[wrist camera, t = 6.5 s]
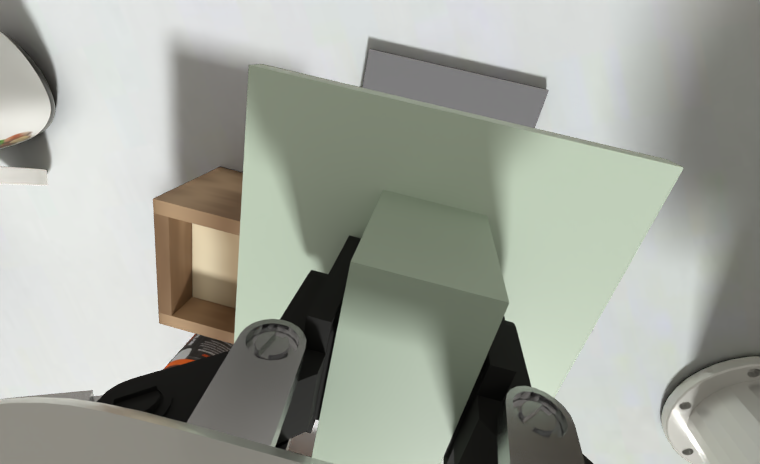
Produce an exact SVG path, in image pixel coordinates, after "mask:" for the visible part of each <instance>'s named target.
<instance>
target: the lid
mask: <svg viewBox="0 0 760 464" xmlns="http://www.w3.org/2000/svg"><path fill="white" fill-rule="evenodd" d="M683 169H684V167H682V166H679V165H677V164H675V163H673V162H671V161H669V160H667V159H663V158H659V157H654V156H650V155H646V154H642V153H637V152H633V151H629V150H625V149H620V148H616V147H612V146H608V145H603V144H599V143H595V142H591V141H586V140H582V139H578V138H574V137H569V136H565V135H561V134H557V133H553V132H548V131H544V130H540V129H536V128H531V127H527V126H523V125H519V124H514V123H510V122H506V121H502V120H497V119H493V118H489V117H485V116H480V115H476V114H472V113H468V112H463V111H459V110H455V109H451V108H446V107H442V106H438V105H434V104H429V103H425V102H421V101H417V100H413V99H408V98H404V97H400V96H396V95H391V94H387V93H383V92H379V91H374V90H370V89H366V88H362V87H357V86H353V85H349V84H345V83H340V82H336V81H332V80H328V79H323V78H319V77H315V76H311V75H306V74H302V73H298V72H294V71H289V70H285V69H281V68H277V67H273V66H268V65H264V64H255V65H249V69H248V88H247V107H246V126H245V144H244V163H243V182H242V201H241V219H240V238H239V257H238V276H237V294H236V313H235V332H234V343H235V341H236V340H237V338H238V336H239V335H240V333H241V332H242V331H243V330H244V329H245V328H246V327H247V326H249V325H250V324H252V323H254V322H257V321H260V320H265V319H280V318H281V317H282V315H283V313H284V312H285V310H286V309H287V307H288V305H289V304H290V302H291V301H292V299H293V297H294V296H295V294H296V293H297V291H298V289H299V288H300V286H301V285H302V283H303V281H304V280H305V278H306V277H307V275H308V273H309V272H310V271H311V270H314V271H318V272H322V273H326V274H329V272H330V270H331V268H332V267H333V265H334V263H335V261H336V259H337V257H338V255H339V253H340V252H341V250H342V248H343V246H344V244H345V242H346V240H347V238H348V237H349V235H350V236H354V237H358V238H361V240H360V242H359V244H358V247H357V249H356V251H355V253H354V255H353V258H352V260H351V262H350V267H349V272H348V277H347V282H346V287H345V293H344V298H343V303H342V308H341V313H340V318H339V323H338V328H337V333H336V338H335V343H334V348H333V353H332V358H331V363H330V368H329V373H328V378H327V383H326V388H325V393H324V398H323V403H322V408H321V413H320V418H319V423H318V428H317V433H316V438H315V443H314V448H313V453H312V458H315V459H319V460H322V461H326V462H329V463H333V464H441V461H442V459H443V457H444V454H445V452H446V450H447V447H448V445H449V443H450V440H451V438H452V436H453V433H454V431H455V429H456V426H457V424H458V422H459V419H460V417H461V415H462V412H463V410H464V408H465V405H466V403H467V401H468V398H469V396H470V394H471V391H472V389H473V387H474V384H475V382H476V380H477V377H478V375H479V373H480V370H481V368H482V366H483V363H484V361H485V359H486V356H487V354H488V352H489V349H490V347H491V345H492V342H493V340H494V338H495V335H496V333H497V331H498V328H499V326H500V324H501V321H502V319H503V317H505V320H506V321H509V322H513V323H514V324H515V326H516V329H517V333H518V337H519V340H520V344H521V348H522V352H523V356H524V360H525V364H526V367H527V371H528V375H529V379H530V383H531V387H534V388H537V389H539V390H541V391H544V392H546V393H547V394H549V395H550V396H552V397H553V398H554V397H555V396H556V394H557V392H558V390H559V388H560V387H561V385H562V383H563V381H564V380H565V378H566V376H567V374H568V373H569V371H570V369H571V367H572V365H573V364H574V362H575V360H576V358H577V357H578V355H579V353H580V351H581V349H582V348H583V346H584V344H585V342H586V341H587V339H588V337H589V335H590V333H591V332H592V330H593V328H594V326H595V325H596V323H597V321H598V319H599V318H600V316H601V314H602V312H603V310H604V309H605V307H606V305H607V303H608V302H609V300H610V298H611V296H612V294H613V293H614V291H615V289H616V287H617V286H618V284H619V282H620V280H621V279H622V277H623V275H624V273H625V271H626V270H627V268H628V266H629V264H630V263H631V261H632V259H633V257H634V255H635V254H636V252H637V250H638V248H639V247H640V245H641V243H642V241H643V240H644V238H645V236H646V234H647V232H648V231H649V229H650V227H651V225H652V224H653V222H654V220H655V218H656V216H657V215H658V213H659V211H660V209H661V208H662V206H663V204H664V202H665V201H666V199H667V197H668V195H669V193H670V192H671V190H672V188H673V186H674V185H675V183H676V181H677V179H678V177H679V176H680V174H681V172H682V170H683Z"/></svg>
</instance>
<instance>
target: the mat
mask: <svg viewBox="0 0 760 464" xmlns="http://www.w3.org/2000/svg"><path fill="white" fill-rule="evenodd" d="M362 88H366V89H370V90H374V91H379V92H383V93H387V94H391V95H396V96H400V97H404V98H408V99H413V100H417V101H421V102H425V103H429V104H434V105H438V106H442V107H446V108H451V109H455V110H459V111H463V112H468V113H472V114H476V115H480V116H485V117H489V118H493V119H497V120H502V121H506V122H510V123H514V124H519V125H523V126H527V127H531V128H535V126H536V123H537V120H538V118H539V115H540V112H541V110H542V107H543V104H544V101H545V99H546V96H547V93H548V91H549V90H546V89H542V88H537V87H533V86H529V85H524V84H520V83H516V82H511V81H507V80H503V79H498V78H494V77H490V76H485V75H481V74H477V73H472V72H468V71H464V70H459V69H455V68H451V67H446V66H442V65H438V64H433V63H429V62H425V61H420V60H416V59H412V58H407V57H403V56H399V55H394V54H390V53H386V52H381V51H377V50H373V49H369V53H368V59H367V64H366V70H365V76H364V81H363V87H362Z"/></svg>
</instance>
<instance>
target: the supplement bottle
mask: <svg viewBox="0 0 760 464" xmlns="http://www.w3.org/2000/svg"><path fill="white" fill-rule="evenodd" d="M233 345H234V344H231V343H228V342H224V341H221V340H217V339H213V338H210V337H206V336H203V335H199V334H196V333H195V335H194V336H193V337H192V338H191V339H190V340H189V341H188V342H187V344H186V345H185V346H184V347H183V348H182V349H181V350H180V351H179V352H178V354H177V355H176V356H175V357H174V358H173V359H172V360H171V361H170V362H169V364H168V365H167V366H166V367H165V368H164V369H167V368H171V367H174V366H178V365H181V364H185V363H188V362H192V361H195V360H199V359H202V358H205V357H209V356H212V355H216V354H219V353H223V352H226V351H230V350H231V348H232V346H233ZM164 369H163V370H164Z"/></svg>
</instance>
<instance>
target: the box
mask: <svg viewBox="0 0 760 464" xmlns="http://www.w3.org/2000/svg"><path fill="white" fill-rule="evenodd" d="M242 182H243V172H239V171H235V170H231V169H227V168H223V167H218V168H216V169H214V170H212V171H210V172H208V173H206V174H204V175H202V176H200V177H197V178H195V179H193V180H191V181H189V182H187V183H185V184H183V185H181V186H179V187H177V188H174V189H172V190H170V191H168V192H166V193H164V194H162V195H160V196H158V197H156V198H154V199H153V208H154V228H155V248H156V269H157V289H158V309H159V323H160V324H164V325H167V326H171V327H174V328H178V329H181V330H185V331H188V332H192V333H196V334H199V335H203V336H206V337H210V338H213V339H217V340H221V341H224V342H228V343H231V344H234V332H235V313H236V294H237V276H238V257H239V238H240V219H241V201H242Z"/></svg>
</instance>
